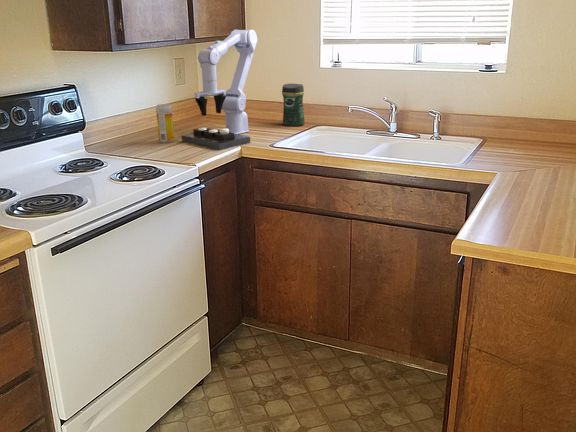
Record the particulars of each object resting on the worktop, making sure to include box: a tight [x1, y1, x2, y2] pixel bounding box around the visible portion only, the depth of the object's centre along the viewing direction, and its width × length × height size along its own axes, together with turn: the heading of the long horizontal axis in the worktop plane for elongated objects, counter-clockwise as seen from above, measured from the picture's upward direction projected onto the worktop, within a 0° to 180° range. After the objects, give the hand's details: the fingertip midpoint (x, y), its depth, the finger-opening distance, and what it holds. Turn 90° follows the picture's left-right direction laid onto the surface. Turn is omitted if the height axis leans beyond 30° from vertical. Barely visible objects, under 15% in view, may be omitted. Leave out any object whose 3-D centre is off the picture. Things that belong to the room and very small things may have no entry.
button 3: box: [219, 127, 229, 135], centre depth 230 cm, size 4×4×2 cm
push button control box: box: [181, 127, 251, 151], centre depth 237 cm, size 16×26×5 cm, turn 46°
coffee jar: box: [281, 83, 305, 127], centre depth 265 cm, size 10×8×19 cm
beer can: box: [155, 103, 175, 144], centre depth 237 cm, size 6×6×15 cm
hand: (211, 114), depth 238 cm, fingers open, 7 cm apart
